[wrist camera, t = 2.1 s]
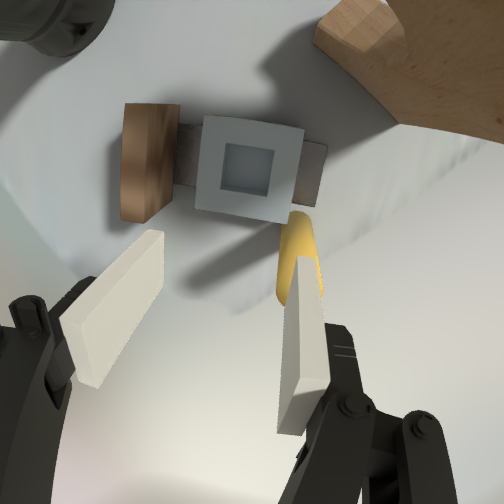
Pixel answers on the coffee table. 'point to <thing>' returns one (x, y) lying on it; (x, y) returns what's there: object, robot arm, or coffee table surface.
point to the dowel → (295, 251)
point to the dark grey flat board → (306, 173)
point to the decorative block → (425, 60)
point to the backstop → (147, 159)
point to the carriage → (247, 168)
